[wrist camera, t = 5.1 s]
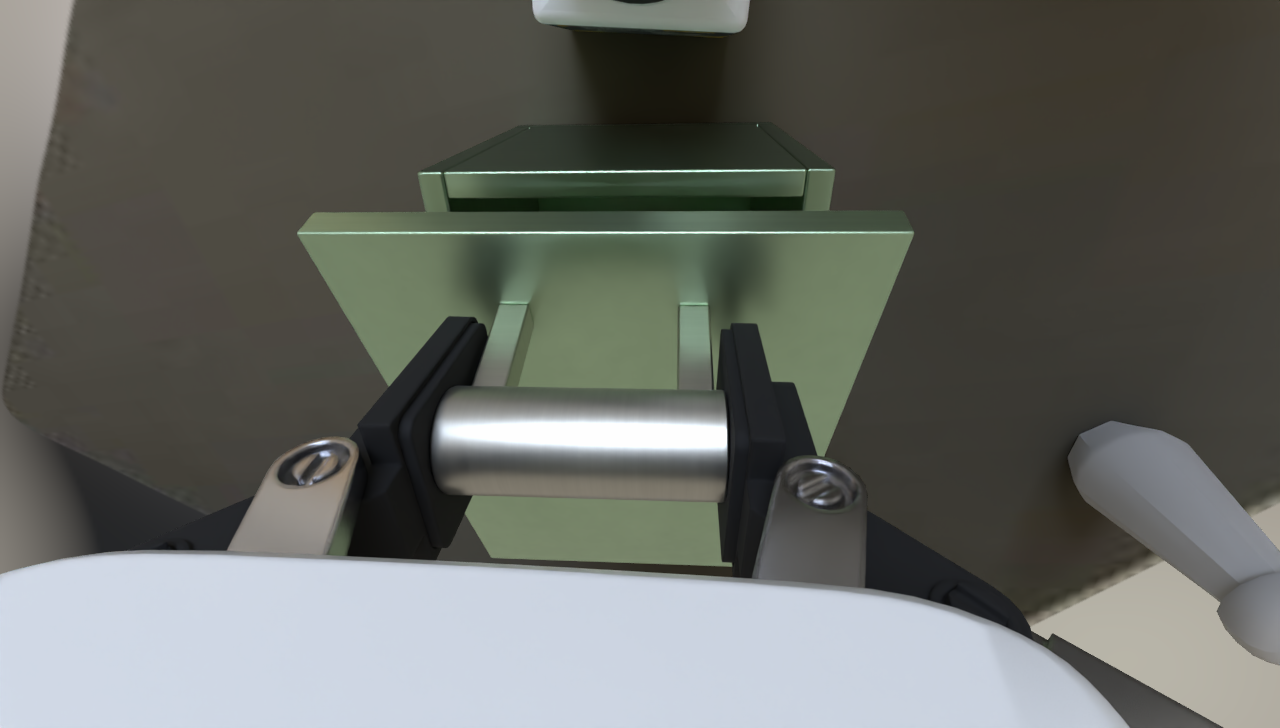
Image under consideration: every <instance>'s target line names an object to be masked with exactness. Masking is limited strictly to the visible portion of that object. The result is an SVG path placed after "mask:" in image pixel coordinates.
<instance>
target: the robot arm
mask: <svg viewBox="0 0 1280 728" xmlns="http://www.w3.org/2000/svg"><path fill="white" fill-rule="evenodd" d="M487 338H488V335H487V330H486V327H485V325H484V324H483V323H478V321H477V319H476V318H475V317H460V316H449V317H447V318H446V319H445V320H444V322H443V323H442V324H441V325H440V326H439V328H438V329H437V330H436V331H435V332H434V334H433V335H432V336H431V337H430V338H429V340H428V341H427V342H426V343H425V344H424V346H423V347H422V348H421V349H420V350H419V352H418V353H417V354H416V355H415V356H414V358H413V359H412V360H411V361H410V362H409V364H408V365H407V366H406V367H405V368H404V370H403V371H402V372H401V373H400V374H399V376H398V377H397V378H396V379H395V380H394V381H393V383H392V384H391V385H390V386H389V387H388V389H387V390H386V391H385V392H384V393H383V395H382V396H381V397H380V398H379V399H378V401H377V402H376V403H375V404H374V405H373V407H372V408H371V409H370V410H369V411H368V413H367V414H366V415H365V416H364V417H363V419H362V420H361V421H360V422H359V423H358V429H357V430H356V431H355V432H354V434H353V435H352V436H351V437H350V439H348V438H343V437H324V438H320V439H315V440H311V441H308V442H306V443H303V444H301V445H298V446H296V447H294V448H293V449H291V450H289V451H287V452H286V453H284V454H283V455H282V456H281V457H279V458H278V459H277V460H276V461H275V462H274V463H273V465H272V466H271V467H270V469H269V470H268V472H267V474H266V476H265V478H264V480H263V482H262V483H261V485H260V487H259V489H258V491H257V493H256V495H255V496H253V497H250V498H248V499H245V500H243V501H241V502H238V503H236V504H234V505H231V506H229V507H226V508H224V509H222V510H219V511H217V512H215V513H212V514H210V515H207V516H205V517H203V518H200V519H198V520H196V521H193V522H191V523H189V524H186V525H184V526H181V527H179V528H177V529H174V530H172V531H169V532H167V533H165V534H162V535H160V536H158V537H155V538H153V539H150V540H148V541H146V542H144V543H142V544H139V545H137V546H135V547H133V548H131V549H129V550H128V551H119V552H106V553H99V554H92V555H85V556H78V557H71V558H64V559H59V560H54V561H50V562H46V563H42V564H37V565H33V566H28V567H24V568H20V569H16V570H13V571H10V572H6V573H3V574H0V728H1223V727H1221V726H1219V725H1218V724H1216V723H1214V722H1212V721H1210V720H1209V719H1207V718H1205V717H1203V716H1201V715H1200V714H1198V713H1196V712H1194V711H1192V710H1191V709H1189V708H1187V707H1185V706H1183V705H1181V704H1180V703H1178V702H1176V701H1174V700H1172V699H1171V698H1169V697H1167V696H1165V695H1163V694H1162V693H1160V692H1158V691H1156V690H1154V689H1152V688H1151V687H1149V686H1147V685H1145V684H1143V683H1141V682H1140V681H1138V680H1136V679H1134V678H1133V677H1131V676H1129V675H1127V674H1125V673H1123V672H1122V671H1120V670H1118V669H1116V668H1114V667H1113V666H1111V665H1109V664H1107V663H1105V662H1104V661H1102V660H1100V659H1098V658H1096V657H1095V656H1093V655H1091V654H1089V653H1087V652H1085V651H1083V650H1082V649H1080V648H1078V647H1076V646H1075V645H1073V644H1071V643H1069V642H1067V641H1066V640H1064V639H1062V638H1060V637H1058V636H1056V635H1055V634H1052V635H1051V637H1050V638H1049V639H1048V640H1046V639H1045V638H1043V637H1041V636H1039V635H1038V634H1036V633H1034V632H1032V631H1031V629H1030V626H1029V624H1028V623H1027V621H1026V619H1025V617H1024V616H1023V614H1022V612H1021V611H1020V610H1019V609H1018V608H1017V607H1016V606H1015V605H1014V604H1013V603H1012V602H1011V600H1010V599H1009V598H1007V597H1006V596H1005V595H1003V594H1002V593H1001V592H999V591H998V590H997V589H995V588H994V587H992V586H991V585H989V584H988V583H986V582H984V581H983V580H981V579H979V578H978V577H976V576H974V575H973V574H971V573H969V572H968V571H966V570H965V569H963V568H961V567H960V566H958V565H956V564H955V563H953V562H951V561H950V560H948V559H946V558H945V557H943V556H942V555H940V554H938V553H937V552H935V551H933V550H932V549H930V548H928V547H927V546H925V545H923V544H922V543H920V542H919V541H917V540H915V539H914V538H912V537H910V536H909V535H907V534H905V533H904V532H902V531H900V530H899V529H897V528H896V527H894V526H892V525H891V524H889V523H887V522H886V521H884V520H882V519H881V518H879V517H878V516H876V515H874V514H873V513H871V512H869V511H868V510H867V500H868V495H867V490H866V485H865V484H864V482H863V481H862V479H861V478H860V476H859V475H858V474H857V473H855V472H854V471H853V470H852V469H851V468H850V467H848V466H846V465H844V464H842V463H841V462H839V461H836V460H833V459H830V458H827V457H823V456H818V455H817V452H816V449H815V445H814V442H813V439H812V436H811V433H810V430H809V427H808V423H807V420H806V417H805V414H804V411H803V408H802V405H801V401H800V398H799V395H798V392H797V389H796V386H795V384H794V383H793V382H772V381H771V377H770V373H769V369H768V365H767V361H766V357H765V353H764V349H763V345H762V341H761V337H760V333H759V329H758V325H757V324H756V323H731V326H730V329H721V335H720V347H719V359H718V372H717V384H716V390H723V391H724V392H725V394H726V397H727V403H728V413H729V432H730V461H729V481H728V490H727V496H726V499H725V501H724V502H722V503H717V505H718V519H719V533H720V548H721V560H722V562H728V563H732V571H733V577H720V576H703V575H686V574H670V573H653V572H636V571H619V570H602V569H585V568H566V567H548V566H530V565H511V564H492V563H473V562H454V561H436V559H437V557H438V555H439V553H440V550H441V548H447V547H449V546H450V544H451V542H452V540H453V538H454V536H455V534H456V531H457V529H458V527H459V525H460V523H461V520H462V518H463V516H464V514H465V512H466V509H467V507H468V505H469V503H470V501H471V499H472V496H473V495H448V494H445V493H443V492H442V491H441V490H440V489H439V488H438V486H437V484H436V482H435V480H434V477H433V473H432V468H431V460H430V438H431V429H432V424H433V419H434V415H435V412H436V409H437V406H438V404H439V402H440V400H441V398H442V396H443V395H444V393H445V392H446V391H447V390H448V389H450V388H451V387H454V386H472V383H473V380H474V377H475V374H476V371H477V368H478V365H479V362H480V359H481V356H482V353H483V350H484V347H485V344H486V341H487Z"/></svg>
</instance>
